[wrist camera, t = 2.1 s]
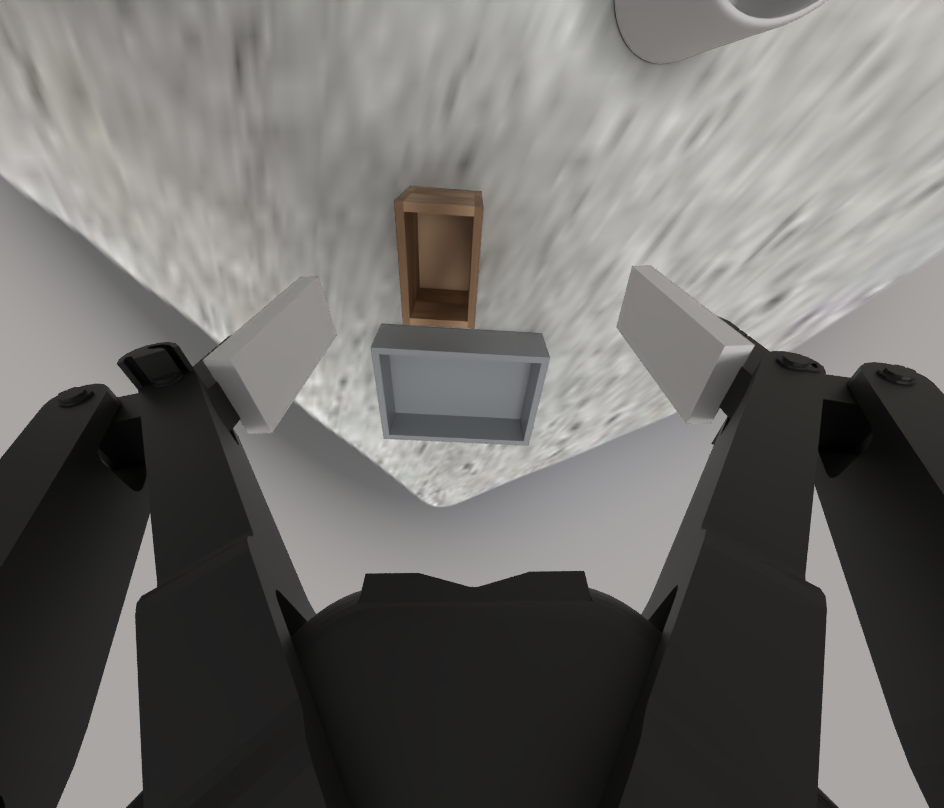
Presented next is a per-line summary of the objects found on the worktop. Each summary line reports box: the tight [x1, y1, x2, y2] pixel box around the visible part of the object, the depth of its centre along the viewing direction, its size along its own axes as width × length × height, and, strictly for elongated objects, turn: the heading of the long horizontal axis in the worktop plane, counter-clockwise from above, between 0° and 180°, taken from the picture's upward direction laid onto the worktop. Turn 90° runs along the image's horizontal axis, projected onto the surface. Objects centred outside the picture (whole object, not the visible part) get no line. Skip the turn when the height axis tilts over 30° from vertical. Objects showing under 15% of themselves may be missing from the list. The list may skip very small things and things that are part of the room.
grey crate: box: [371, 324, 550, 446], centre depth 39 cm, size 17×12×5 cm
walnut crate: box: [394, 186, 483, 329], centre depth 29 cm, size 6×9×8 cm, turn 176°
